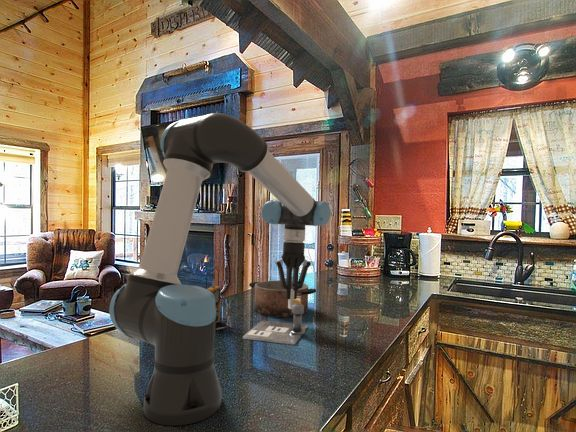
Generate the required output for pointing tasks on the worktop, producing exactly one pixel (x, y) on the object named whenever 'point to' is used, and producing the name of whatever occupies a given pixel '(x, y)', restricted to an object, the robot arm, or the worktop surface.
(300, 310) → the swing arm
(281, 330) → the label
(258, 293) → the cooking pot
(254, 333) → the label
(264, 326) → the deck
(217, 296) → the multimeter
